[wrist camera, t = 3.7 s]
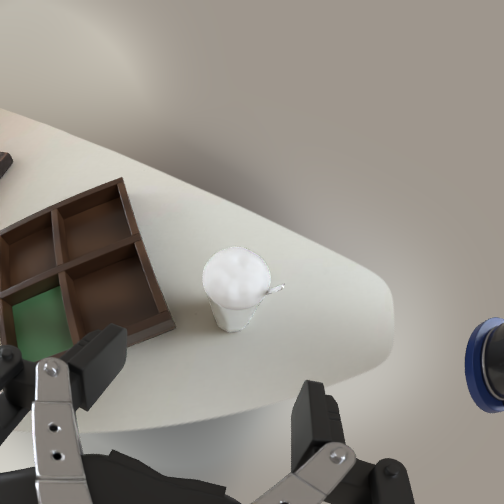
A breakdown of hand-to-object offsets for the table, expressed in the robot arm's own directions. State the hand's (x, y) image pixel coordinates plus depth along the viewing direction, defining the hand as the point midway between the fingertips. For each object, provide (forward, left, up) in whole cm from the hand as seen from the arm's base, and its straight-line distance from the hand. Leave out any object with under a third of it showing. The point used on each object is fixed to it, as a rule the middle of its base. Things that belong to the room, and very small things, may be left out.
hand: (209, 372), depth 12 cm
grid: (+15, +9, -13) cm, 22 cm away
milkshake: (+5, -5, -13) cm, 15 cm away
